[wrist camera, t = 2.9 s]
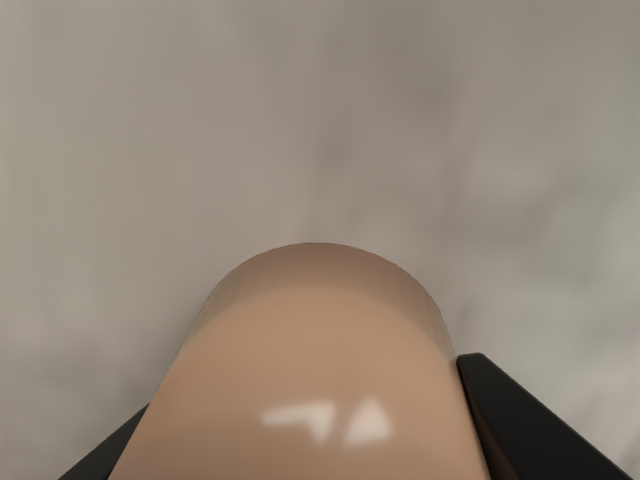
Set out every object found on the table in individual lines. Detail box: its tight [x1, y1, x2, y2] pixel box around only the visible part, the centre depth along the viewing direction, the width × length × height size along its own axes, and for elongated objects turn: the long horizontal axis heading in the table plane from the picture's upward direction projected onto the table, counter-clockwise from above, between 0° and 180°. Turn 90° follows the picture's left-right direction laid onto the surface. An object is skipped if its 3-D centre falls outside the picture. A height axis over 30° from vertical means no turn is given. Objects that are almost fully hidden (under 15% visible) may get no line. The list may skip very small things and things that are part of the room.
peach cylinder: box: [108, 243, 491, 480], centre depth 7 cm, size 5×5×4 cm
